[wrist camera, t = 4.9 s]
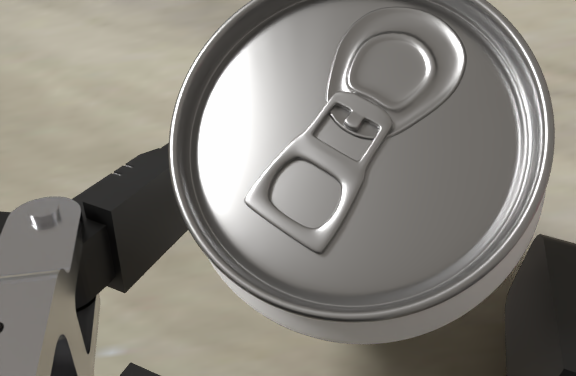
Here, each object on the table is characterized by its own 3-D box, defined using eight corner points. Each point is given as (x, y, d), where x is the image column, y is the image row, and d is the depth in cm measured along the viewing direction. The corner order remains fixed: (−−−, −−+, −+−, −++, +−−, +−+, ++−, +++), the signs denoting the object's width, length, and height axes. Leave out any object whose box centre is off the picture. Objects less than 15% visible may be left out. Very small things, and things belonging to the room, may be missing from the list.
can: (487, 216, 17) (688, 40, 6) (395, 359, 16) (421, 476, 5) (347, 136, 19) (293, -110, 8) (261, 260, 19) (66, 189, 7)
